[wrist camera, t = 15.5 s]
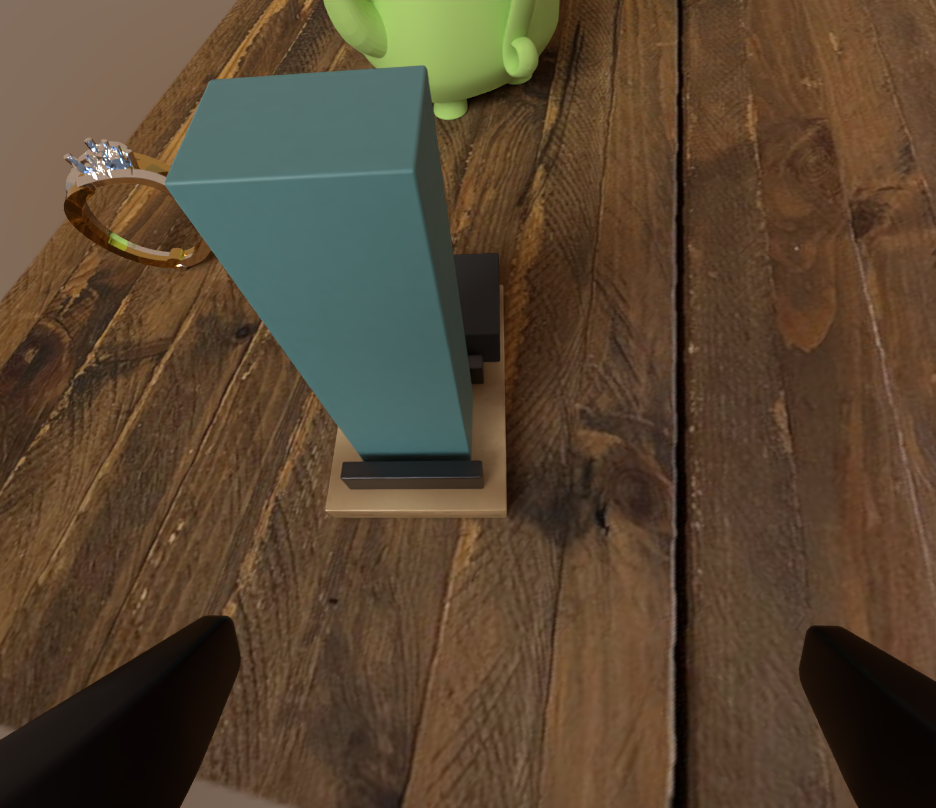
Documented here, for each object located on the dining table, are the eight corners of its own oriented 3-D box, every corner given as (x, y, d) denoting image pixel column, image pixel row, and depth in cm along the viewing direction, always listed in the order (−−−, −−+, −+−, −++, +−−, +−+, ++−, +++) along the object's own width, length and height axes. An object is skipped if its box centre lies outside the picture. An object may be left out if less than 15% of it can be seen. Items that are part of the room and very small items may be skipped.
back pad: (471, 461, 23) (415, 170, 9) (362, 462, 23) (161, 183, 10) (473, 393, 24) (426, 63, 11) (371, 395, 25) (209, 78, 11)
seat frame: (507, 518, 22) (506, 493, 19) (333, 518, 23) (304, 494, 20) (503, 298, 28) (502, 252, 25) (364, 303, 29) (346, 258, 26)
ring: (242, 242, 32) (166, 122, 25) (232, 281, 30) (148, 165, 23) (137, 250, 32) (33, 134, 25) (122, 289, 31) (7, 176, 24)
